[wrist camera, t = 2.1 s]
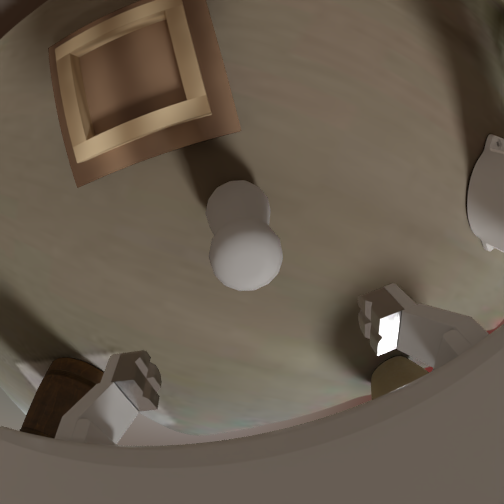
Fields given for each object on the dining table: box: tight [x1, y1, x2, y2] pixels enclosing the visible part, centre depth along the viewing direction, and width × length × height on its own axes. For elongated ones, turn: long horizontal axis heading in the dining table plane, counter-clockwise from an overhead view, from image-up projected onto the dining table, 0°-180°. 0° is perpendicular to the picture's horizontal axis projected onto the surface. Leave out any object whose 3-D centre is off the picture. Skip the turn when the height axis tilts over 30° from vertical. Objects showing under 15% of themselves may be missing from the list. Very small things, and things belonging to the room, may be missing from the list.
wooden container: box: [20, 358, 104, 439], centre depth 26 cm, size 15×15×22 cm
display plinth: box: [48, 0, 241, 188], centre depth 19 cm, size 16×16×5 cm
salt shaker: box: [206, 180, 283, 291], centre depth 21 cm, size 6×6×13 cm
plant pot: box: [371, 356, 429, 400], centre depth 34 cm, size 15×15×16 cm
